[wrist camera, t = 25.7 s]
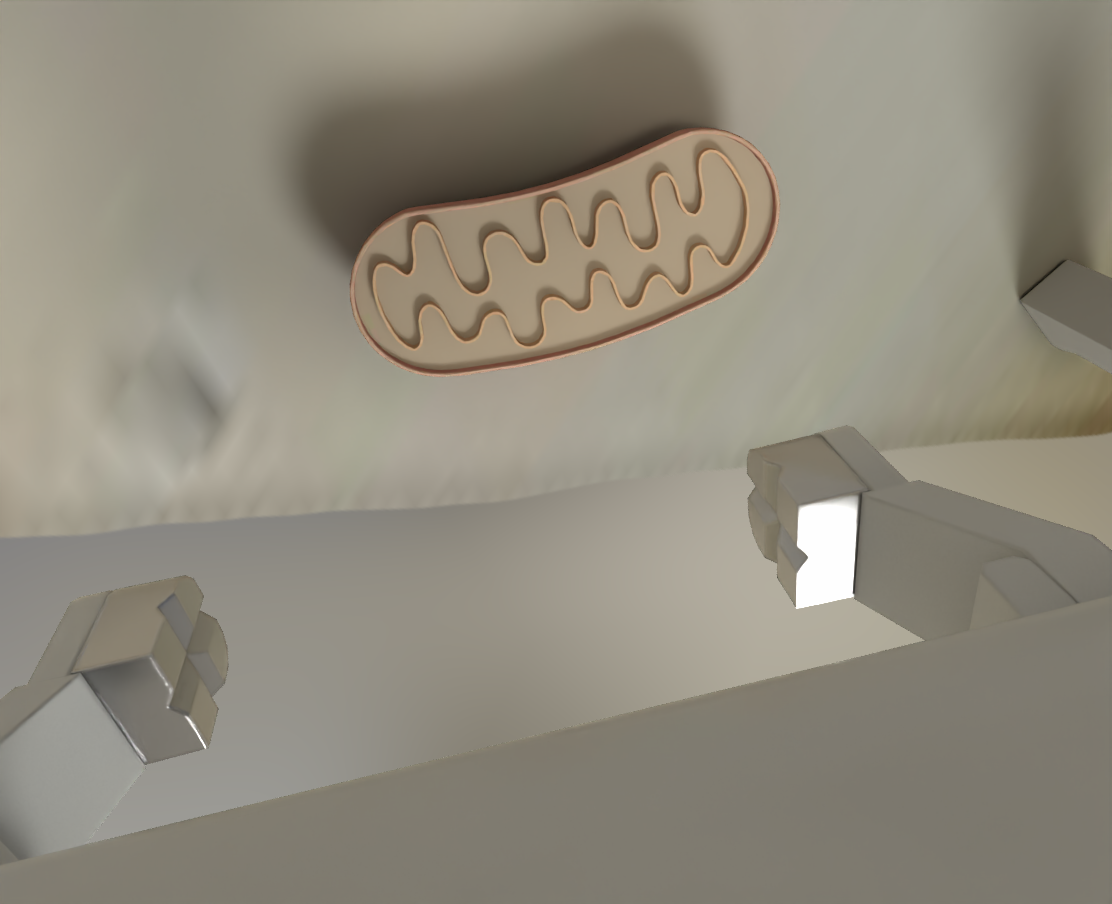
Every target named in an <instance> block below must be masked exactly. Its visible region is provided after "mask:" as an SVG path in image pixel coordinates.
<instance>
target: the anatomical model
mask: <svg viewBox="0 0 1112 904" xmlns="http://www.w3.org/2000/svg"><path fill="white" fill-rule="evenodd" d="M779 212H780V199H779V190H778V185H777V182H776V178H775V175H774V173H773V171H772V169H771V167H770V165H769V163H768V162H767V160H766V159H765V158H764V157H763V155H762V154H761V153H760V152H759V151H758V150H757V149H756V148H755V147H754V146H753V145H752V144H751V143H750V142H748V141H747V140H745V139H743V138H742V137H740V136H738V135H735V134H733V133H730V132H728V131H724V130H719V129H714V128H688V129H683V130H679V131H676V132H674V133H671V134H669V135H667V136H665V137H663V138H660V139H658V140H656V141H654V142H652V143H649V144H647V145H645V146H643V147H641V148H638V149H636V150H634V151H632V152H630V153H627V154H625V155H623V156H621V157H619V158H616V159H614V160H612V161H609V162H607V163H604V164H602V165H599V166H597V167H594V168H592V169H589V170H586V171H584V172H581V173H578V174H575V175H572V176H569V177H566V178H563V179H560V180H557V181H554V182H551V183H547V184H543V185H540V186H536V187H532V188H528V189H524V190H520V191H516V192H511V193H506V194H500V195H495V196H490V197H484V198H478V199H470V200H463V201H455V202H448V203H440V204H433V205H425V206H418V207H412V208H407V209H404V210H402V211H400V212H398V213H396V214H394V215H393V216H391V217H389V218H388V219H386V220H385V221H383V222H382V223H381V224H380V225H379V226H378V227H377V228H376V229H375V230H374V231H373V232H372V233H371V234H370V236H369V237H368V238H367V240H366V241H365V242H364V244H363V246H362V248H361V250H360V251H359V253H358V255H357V257H356V260H355V263H354V266H353V269H352V274H351V280H350V301H351V306H352V310H353V315H354V318H355V320H356V322H357V325H358V327H359V329H360V331H361V333H362V334H363V336H364V337H365V339H366V340H367V342H368V343H369V344H370V345H371V346H372V347H373V348H374V349H375V350H376V352H378V353H379V354H380V355H381V356H383V357H384V358H385V359H387V360H388V361H389V362H391V363H393V364H394V365H396V366H398V367H400V368H402V369H405V370H407V371H409V372H413V373H417V374H421V375H425V376H436V377H446V376H460V375H468V374H475V373H481V372H488V371H494V370H501V369H507V368H514V367H520V366H525V365H530V364H535V363H540V362H545V361H549V360H554V359H559V358H563V357H567V356H571V355H575V354H578V353H582V352H586V351H590V350H593V349H596V348H599V347H602V346H605V345H608V344H612V343H615V342H618V341H621V340H623V339H626V338H629V337H631V336H634V335H636V334H639V333H642V332H644V331H647V330H649V329H652V328H654V327H657V326H660V325H662V324H664V323H666V322H668V321H671V320H673V319H675V318H677V317H680V316H682V315H684V314H686V313H688V312H691V311H693V310H695V309H697V308H700V307H702V306H704V305H706V304H708V303H711V302H713V301H715V300H717V299H720V298H721V297H723V296H725V295H726V294H728V293H730V292H732V291H733V290H735V289H736V288H737V287H739V286H740V285H741V284H742V283H744V282H745V281H746V280H747V279H748V278H749V277H750V276H751V275H752V274H753V273H754V272H755V270H756V269H757V268H758V267H759V266H760V264H761V263H762V261H763V260H764V258H765V257H766V255H767V253H768V251H769V249H770V247H771V245H772V242H773V239H774V237H775V234H776V231H777V226H778V222H779Z"/></svg>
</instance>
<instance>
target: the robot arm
mask: <svg viewBox="0 0 1112 904" xmlns="http://www.w3.org/2000/svg"><path fill="white" fill-rule="evenodd" d="M747 474H748V476H749V477H750V478H751V480H752V481H753V483H754V484H755V486H756V487H755V488H754V490H753V491H752V493H751V494H750V495H749V497H748V511H749V519H750V524H751V528H752V532H753V535H754V538H755V540H756V543H757V545H758V547H759V549H760V550H761V552H762V554H763V555H764V557H765V558H766V559H769V560H771V561H773V562H775V563H777V578H778V580H779V581H780V583H781V585H782V586H783V588H784V589H785V591H786V592H787V594H788V595H789V597H790V599H791V600H792V602H793V604H794V605H795V607H796V608H801V607H806V606H811V605H815V604H820V603H825V602H830V601H834V600H839V599H844V598H848V597H854V599H855V600H857V601H859V602H860V603H862V604H864V605H866V606H867V607H869V608H871V609H872V610H874V611H876V612H877V613H879V614H881V615H883V616H884V617H886V618H888V619H890V620H891V621H893V622H895V623H896V624H898V625H900V626H901V627H903V628H905V629H907V630H908V631H910V632H912V633H913V634H915V635H917V636H919V637H920V638H922V639H924V640H925V641H922V642H918V643H913V644H909V645H905V646H901V647H897V648H893V649H889V650H885V651H881V652H877V653H873V654H869V655H865V656H861V657H856V658H853V659H849V660H844V661H840V662H836V663H832V664H828V665H824V666H819V667H816V668H811V669H807V670H803V671H799V672H795V673H791V674H786V675H782V676H778V677H774V678H770V679H766V680H762V681H757V682H754V683H749V684H745V685H741V686H737V687H733V688H728V689H725V690H720V691H716V692H712V693H708V694H704V695H699V696H696V697H691V698H687V699H683V700H679V701H675V702H671V703H666V704H662V705H658V706H654V707H650V708H646V709H642V710H638V711H633V712H629V713H625V714H621V715H617V716H613V717H609V718H604V719H600V720H596V721H592V722H588V723H584V724H580V725H576V726H571V727H567V728H563V729H559V730H555V731H551V732H547V733H543V734H539V735H535V736H531V737H526V738H522V739H519V740H514V741H510V742H506V743H502V744H498V745H494V746H490V747H486V748H481V749H478V750H473V751H469V752H465V753H461V754H457V755H453V756H449V757H444V758H440V759H436V760H432V761H428V762H424V763H420V764H416V765H412V766H408V767H404V768H399V769H396V770H391V771H387V772H383V773H379V774H375V775H371V776H366V777H362V778H358V779H354V780H350V781H346V782H341V783H338V784H333V785H329V786H325V787H321V788H317V789H313V790H308V791H305V792H300V793H296V794H292V795H288V796H284V797H280V798H276V799H272V800H267V801H263V802H259V803H255V804H251V805H247V806H243V807H238V808H234V809H230V810H226V811H222V812H218V813H213V814H210V815H205V816H201V817H197V818H193V819H189V820H185V821H181V822H176V823H172V824H168V825H164V826H160V827H156V828H152V829H147V830H143V831H139V832H135V833H131V834H127V835H123V836H119V837H115V838H110V839H107V840H102V841H98V842H94V843H90V844H87V842H88V841H89V840H90V839H91V837H92V836H93V835H94V833H95V832H96V831H97V830H98V828H99V827H100V826H101V825H102V823H103V822H104V821H105V820H106V818H107V817H108V816H109V814H110V813H111V812H112V811H113V809H114V808H115V807H116V806H117V804H118V803H119V802H120V801H121V799H122V798H123V797H124V795H125V794H126V793H127V792H128V790H129V789H130V788H131V786H132V785H133V784H134V783H135V781H136V780H137V779H138V778H139V776H140V775H141V774H142V773H143V771H144V770H145V769H146V766H145V765H146V764H150V763H154V762H158V761H161V760H165V759H169V758H172V757H176V756H180V755H184V754H188V753H192V752H195V751H199V750H202V749H207V748H209V744H210V741H211V737H212V733H213V728H214V725H215V721H216V717H217V713H218V707H217V705H216V703H215V701H214V700H213V698H212V696H213V695H214V694H215V693H216V692H217V691H218V690H219V689H220V688H221V687H222V686H223V684H225V680H226V676H227V671H228V650H227V644H226V641H225V638H224V634H223V631H222V629H221V627H220V625H219V623H218V621H217V619H215V618H213V617H211V616H210V615H208V614H206V613H204V612H202V611H200V608H201V605H202V601H203V598H204V595H203V593H202V592H201V590H200V588H199V587H198V585H197V583H196V582H195V580H194V579H193V578H191V577H188V576H186V575H184V576H179V577H174V578H169V579H164V580H159V581H154V582H149V583H145V584H140V585H134V586H129V587H125V588H120V589H116V590H114V591H106V592H101V593H97V594H93V595H88V596H83V597H79V598H78V599H76V600H74V601H72V602H71V603H70V605H69V606H68V608H67V610H66V612H65V614H64V616H63V618H62V620H61V622H60V623H59V625H58V627H57V629H56V631H55V633H54V635H53V637H52V638H51V640H50V643H49V644H48V646H47V648H46V650H45V652H44V654H43V656H42V657H41V659H40V661H39V663H38V665H37V667H36V669H35V671H34V673H33V674H32V676H31V678H30V680H29V682H28V684H27V685H23V686H19V687H15V688H14V689H13V690H11V691H10V692H9V693H8V694H7V695H5V696H4V697H3V698H2V699H0V904H1112V550H1111V549H1109V548H1108V547H1107V546H1106V545H1105V544H1103V543H1102V542H1101V541H1100V540H1098V539H1097V538H1096V537H1095V536H1093V535H1091V534H1088V533H1085V532H1082V531H1078V530H1075V529H1072V528H1069V527H1066V526H1063V525H1059V524H1056V523H1053V522H1050V521H1047V520H1044V519H1040V518H1037V517H1034V516H1031V515H1028V514H1024V513H1021V512H1018V511H1015V510H1012V509H1009V508H1005V507H1002V506H999V505H996V504H993V503H990V502H986V501H983V500H980V499H977V498H974V497H971V496H968V495H964V494H961V493H958V492H955V491H952V490H948V489H945V488H942V487H939V486H936V485H933V484H929V483H926V482H923V481H920V480H918V481H913V482H908V481H907V480H906V479H905V478H904V477H903V476H902V475H901V474H900V473H899V472H898V471H897V470H896V469H895V468H894V467H893V466H892V465H891V464H890V463H889V462H888V461H887V460H886V459H885V458H884V457H883V456H882V455H881V454H880V453H879V452H878V451H877V450H876V449H875V448H874V447H873V446H872V445H871V444H870V443H869V442H868V441H867V440H866V439H865V438H864V437H863V436H862V435H861V434H860V433H859V432H858V431H857V430H856V429H855V428H853V427H851V426H847V425H846V426H842V427H838V428H834V429H830V430H826V431H822V432H818V433H815V434H814V435H810V436H806V437H801V438H797V439H793V440H789V441H784V442H780V443H776V444H772V445H767V446H763V447H759V448H755V449H751V450H749V453H748V457H747Z"/></svg>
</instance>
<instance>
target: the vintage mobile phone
mask: <svg viewBox="0 0 1112 904" xmlns="http://www.w3.org/2000/svg"><path fill="white" fill-rule="evenodd" d="M1021 303H1022V305H1023V306H1024V307H1025V309H1026V310H1027V311H1028V313H1029V314H1030V316H1031V317H1032V318H1033V320H1034V321H1035V322H1036V324H1037V325H1038V327H1039V328H1040V329H1041V331H1042V332H1043V334H1044V335H1045V336H1046V338H1047V339H1048V340H1049V342H1050V343H1051V344H1052V345H1053V346H1055V347H1057V348H1058V349H1060V350H1063V351H1068V352H1072V353H1076V354H1077V355H1079V356H1081V357H1083V358H1084V359H1086V360H1088V361H1090V362H1092V363H1093V364H1095V365H1097V366H1099V367H1100V368H1102V369H1104V370H1106V371H1107V372H1109V373H1111V374H1112V278H1110V277H1108V276H1105V275H1103V274H1101V273H1098V272H1096V271H1094V270H1092V269H1089V268H1087V267H1085V266H1082V265H1080V264H1078V263H1075V262H1073V261H1071V260H1066V261H1065V262H1063V263H1062V264H1061V265H1060V266H1059V267H1058V268H1057V269H1055V270H1054V271H1053V272H1052V273H1051V274H1050V275H1049V276H1047V277H1046V278H1045V279H1044V280H1043V281H1042V282H1040V283H1039V284H1038V285H1037V286H1036V287H1035V288H1034V289H1032V290H1031V291H1030V292H1029V293H1028V294H1027V295H1026V296H1024V297H1023V298H1022V299H1021Z"/></svg>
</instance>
